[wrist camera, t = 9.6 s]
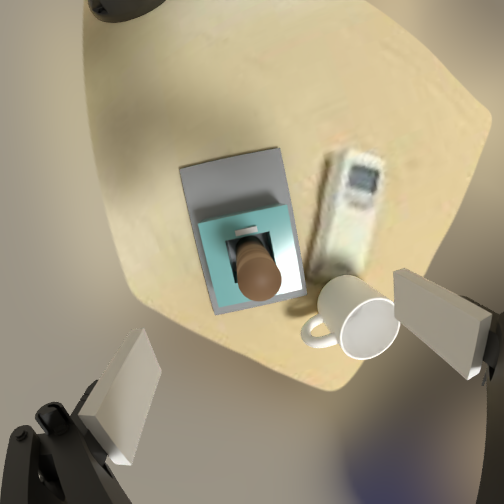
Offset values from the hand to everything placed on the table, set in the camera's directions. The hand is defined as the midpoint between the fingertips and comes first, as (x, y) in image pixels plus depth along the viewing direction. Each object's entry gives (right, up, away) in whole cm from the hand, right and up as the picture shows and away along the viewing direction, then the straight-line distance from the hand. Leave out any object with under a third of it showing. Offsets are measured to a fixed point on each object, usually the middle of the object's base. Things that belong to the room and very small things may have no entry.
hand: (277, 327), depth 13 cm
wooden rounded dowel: (-2, +4, +23) cm, 24 cm away
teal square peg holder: (-2, +4, +23) cm, 24 cm away
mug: (+10, -4, +27) cm, 29 cm away
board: (-2, +6, +24) cm, 25 cm away
